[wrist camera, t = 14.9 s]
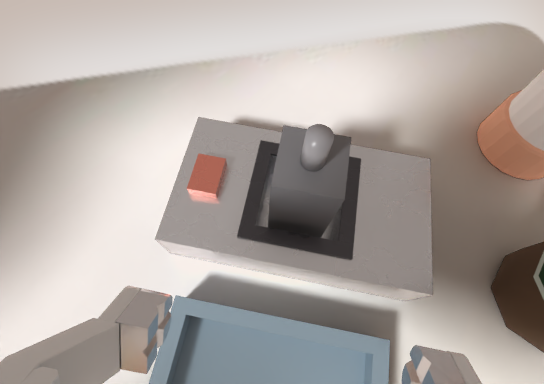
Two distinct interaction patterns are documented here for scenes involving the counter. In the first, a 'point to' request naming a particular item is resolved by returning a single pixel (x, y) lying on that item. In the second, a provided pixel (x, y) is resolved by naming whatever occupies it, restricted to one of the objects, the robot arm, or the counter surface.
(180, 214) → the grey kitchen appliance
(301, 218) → the plug
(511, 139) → the pepper shaker
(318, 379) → the tray
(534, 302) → the beer bottle
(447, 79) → the counter surface
